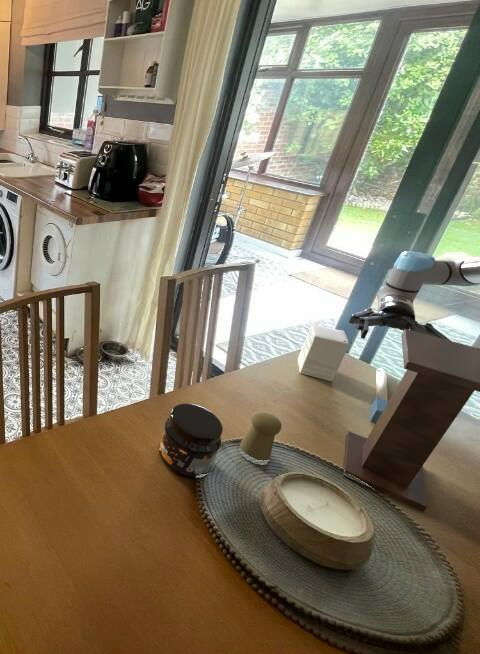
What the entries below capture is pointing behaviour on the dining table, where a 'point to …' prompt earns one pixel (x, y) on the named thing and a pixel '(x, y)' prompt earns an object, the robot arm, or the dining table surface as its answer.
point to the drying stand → (415, 417)
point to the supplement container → (190, 440)
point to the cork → (261, 435)
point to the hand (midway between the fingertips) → (398, 344)
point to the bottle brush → (379, 395)
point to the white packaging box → (322, 352)
